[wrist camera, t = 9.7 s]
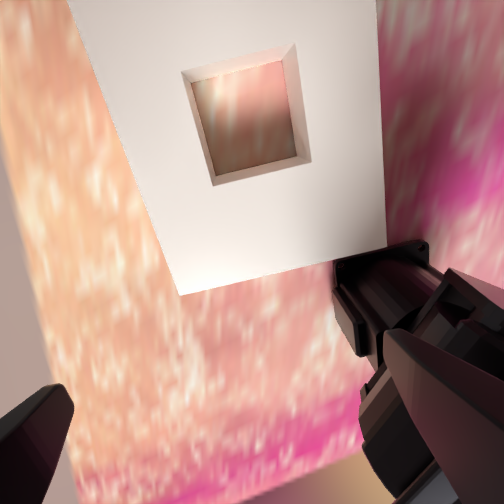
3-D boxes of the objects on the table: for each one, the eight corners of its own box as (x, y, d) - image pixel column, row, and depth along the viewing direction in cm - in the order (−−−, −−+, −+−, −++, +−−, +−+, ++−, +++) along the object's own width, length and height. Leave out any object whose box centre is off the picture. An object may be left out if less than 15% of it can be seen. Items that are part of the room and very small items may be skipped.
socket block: (334, -98, 13) (368, -171, 10) (361, 227, 20) (387, 246, 16) (81, -31, 14) (35, -81, 10) (187, 268, 20) (179, 295, 17)
